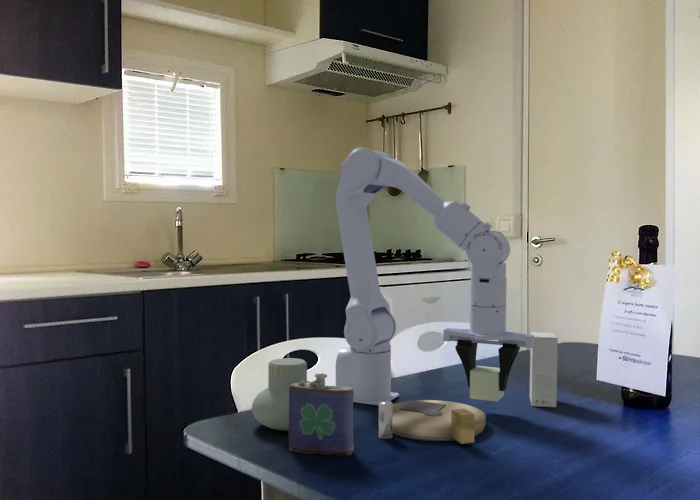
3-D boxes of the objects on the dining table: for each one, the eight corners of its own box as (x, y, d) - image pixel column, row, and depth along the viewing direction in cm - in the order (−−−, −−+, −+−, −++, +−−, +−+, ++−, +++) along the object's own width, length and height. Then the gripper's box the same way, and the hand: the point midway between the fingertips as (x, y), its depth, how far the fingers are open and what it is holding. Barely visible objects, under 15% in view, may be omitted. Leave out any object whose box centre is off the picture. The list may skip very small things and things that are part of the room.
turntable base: (361, 435, 98) (361, 401, 98) (403, 406, 113) (403, 377, 113) (464, 451, 91) (464, 414, 91) (494, 418, 106) (495, 387, 106)
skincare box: (557, 408, 113) (558, 337, 112) (531, 406, 114) (532, 336, 113) (553, 399, 119) (554, 332, 118) (529, 397, 119) (529, 331, 119)
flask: (355, 450, 91) (355, 373, 91) (349, 458, 88) (349, 377, 88) (292, 444, 94) (291, 369, 93) (284, 451, 91) (284, 373, 90)
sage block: (469, 398, 108) (470, 370, 108) (477, 392, 112) (477, 365, 112) (497, 401, 106) (497, 373, 106) (503, 395, 110) (504, 368, 110)
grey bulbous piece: (297, 413, 109) (297, 353, 109) (332, 424, 103) (332, 360, 103) (242, 427, 102) (242, 362, 101) (276, 440, 96) (276, 371, 95)
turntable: (362, 429, 99) (362, 402, 99) (403, 402, 114) (403, 379, 113) (471, 445, 92) (471, 416, 91) (499, 414, 106) (499, 390, 106)
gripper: (437, 305, 108) (436, 388, 109) (528, 310, 102) (527, 398, 102) (450, 301, 115) (449, 379, 115) (537, 305, 108) (535, 388, 109)
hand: (487, 388), depth 109 cm, fingers closed on sage block, 4 cm apart
